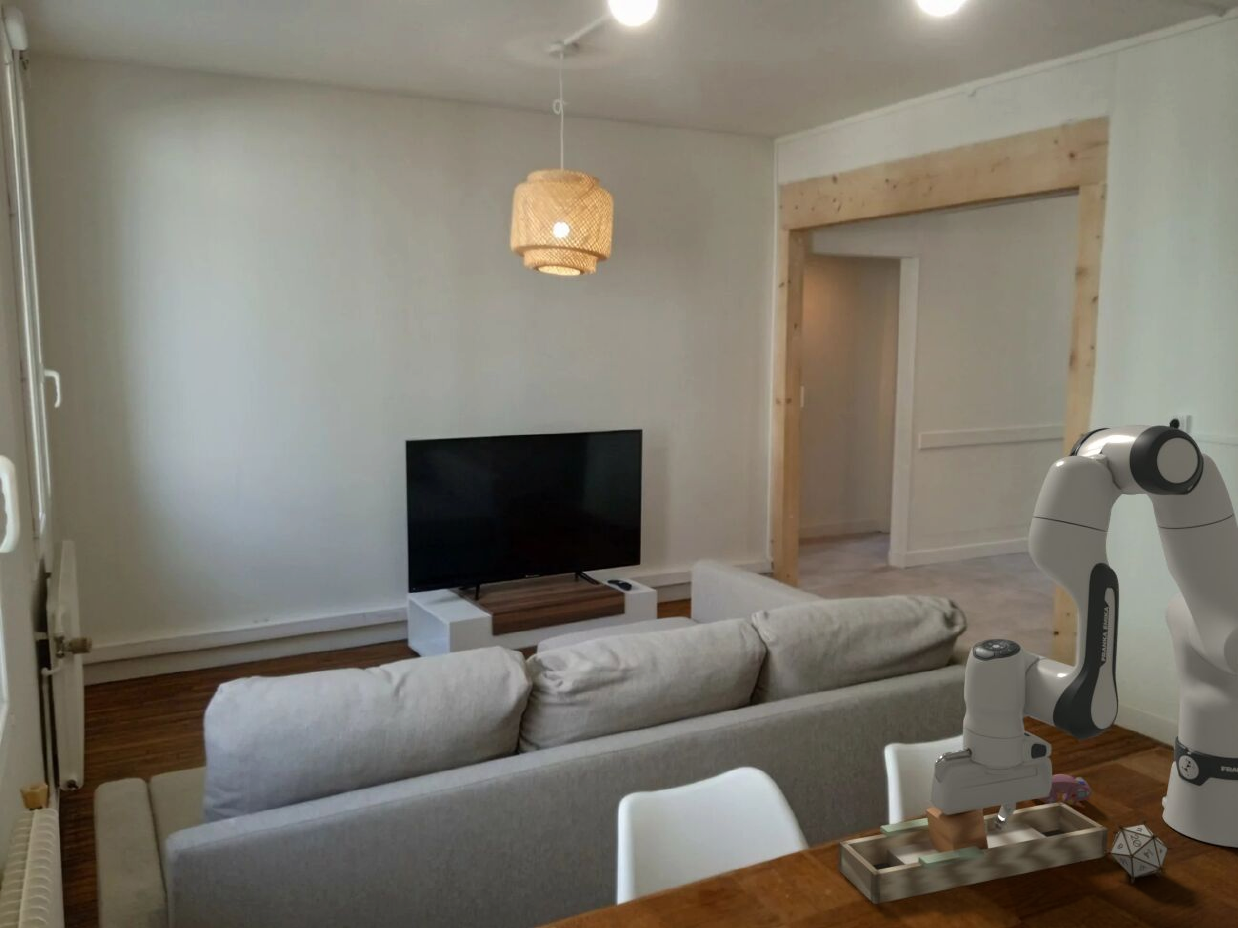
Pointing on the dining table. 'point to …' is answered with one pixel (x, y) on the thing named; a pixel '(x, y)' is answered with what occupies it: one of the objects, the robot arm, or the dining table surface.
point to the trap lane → (968, 853)
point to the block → (956, 830)
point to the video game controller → (1068, 789)
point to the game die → (1138, 850)
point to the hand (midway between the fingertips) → (989, 829)
